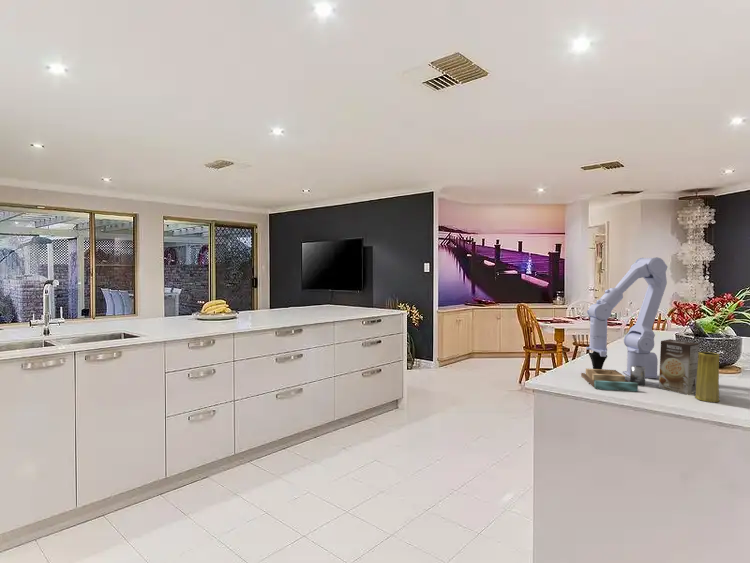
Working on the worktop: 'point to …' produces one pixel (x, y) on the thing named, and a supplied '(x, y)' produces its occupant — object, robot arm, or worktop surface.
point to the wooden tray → (605, 375)
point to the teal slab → (611, 384)
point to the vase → (707, 377)
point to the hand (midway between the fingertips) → (597, 372)
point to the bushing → (637, 375)
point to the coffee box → (678, 366)
